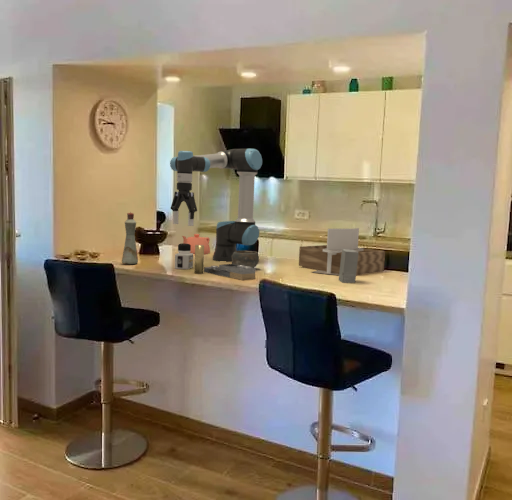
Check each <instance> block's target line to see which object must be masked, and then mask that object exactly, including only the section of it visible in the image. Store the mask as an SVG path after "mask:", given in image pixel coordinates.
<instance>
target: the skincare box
mask: <svg viewBox="0 0 512 500" xmlns="http://www.w3.org/2000/svg"><path fill="white" fill-rule="evenodd" d="M357 262H358V252H357V251H355V250H349V249H342V254H341V263H340V272H339V275H338V281H339V282H341V283H343V284H355V283H356V277H357V275H356V270H357Z"/></svg>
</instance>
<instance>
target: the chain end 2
mask: <svg viewBox="0 0 512 500" xmlns="http://www.w3.org/2000/svg"><path fill="white" fill-rule="evenodd" d="M218 267H219V270H223V271H228V272H230V279H234V280H239V281H245V280H247V281H248V280H255V279H256V267H255V268H252V267H250V266H245V265H236V264H232V263H225V264H219V265H218Z"/></svg>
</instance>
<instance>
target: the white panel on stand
mask: <svg viewBox="0 0 512 500" xmlns="http://www.w3.org/2000/svg"><path fill="white" fill-rule="evenodd" d="M359 235H360V228H359V227H355V228H354V227H353V228H327V238H326V245H327V248H325V249H323V252H328V257H327V272H326V271H321V270H313V271H312V273H316V274H325V275H332V276H339V274H338V273H332V272H331V262H332V255H336V254H337V253H341V252H342V249H349V250H355V251H357V252H359V251H363V249H365V248H364V247H359Z"/></svg>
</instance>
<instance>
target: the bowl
mask: <svg viewBox="0 0 512 500" xmlns="http://www.w3.org/2000/svg"><path fill="white" fill-rule="evenodd" d="M231 257H232V262H231V264H236V265H245V266H250V267H252V268H256V267H257V266H258V264H259V262H260V259H259V258H260V256H259V253H258V251H255V250H253V251H252V250H237V251H235V252H234V253H233V255H232V256H231Z"/></svg>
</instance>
